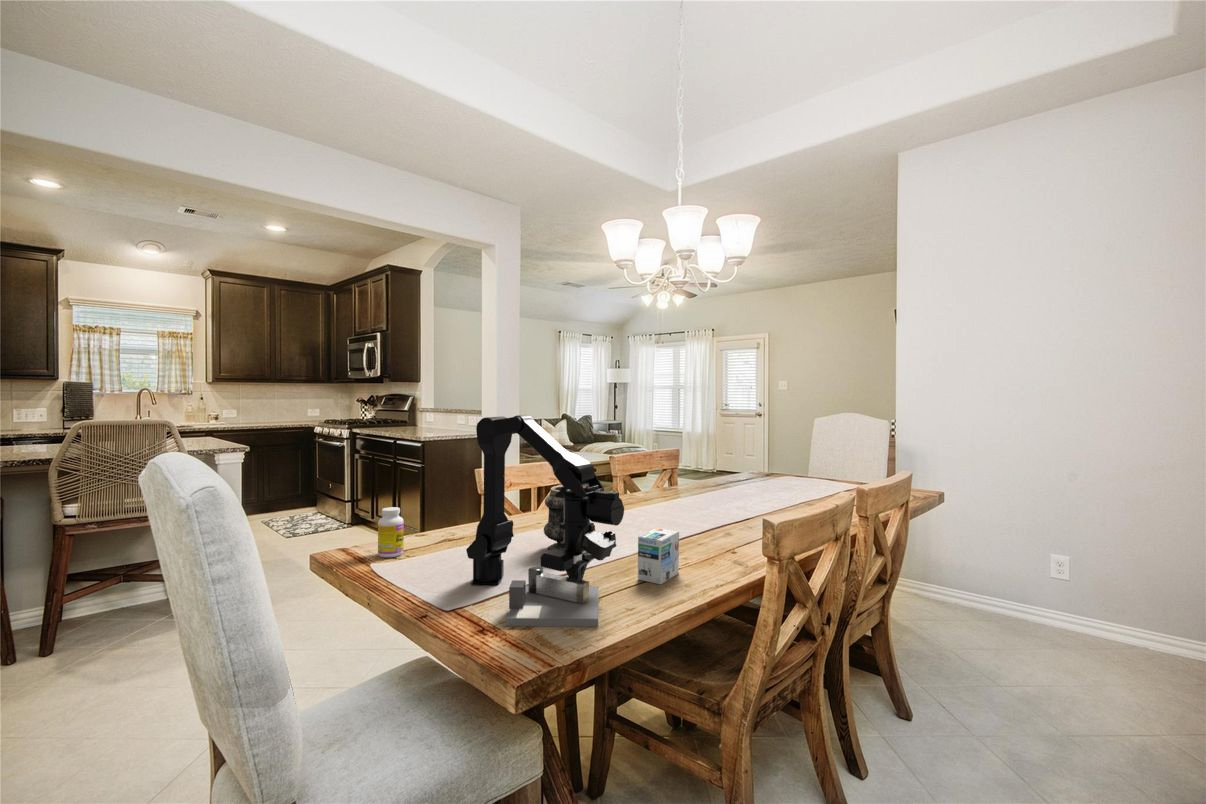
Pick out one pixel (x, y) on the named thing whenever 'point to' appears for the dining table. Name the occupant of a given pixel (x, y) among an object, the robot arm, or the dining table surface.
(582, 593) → the bar
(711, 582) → the dining table surface
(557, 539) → the apothecary jar
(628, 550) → the dining table surface
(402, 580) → the dining table surface
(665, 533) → the light bulb box
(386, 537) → the supplement bottle
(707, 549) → the dining table surface
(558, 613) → the plate
